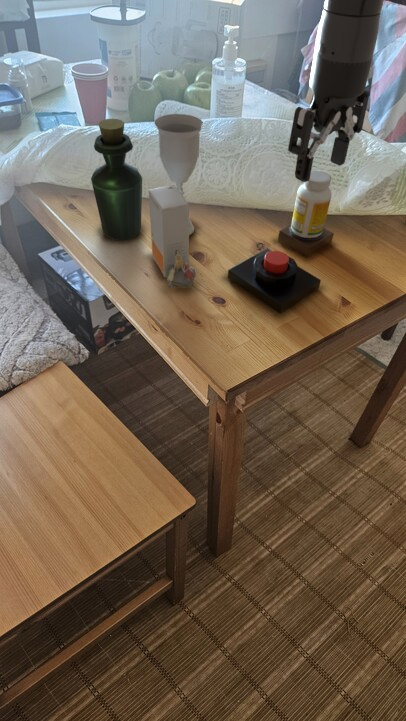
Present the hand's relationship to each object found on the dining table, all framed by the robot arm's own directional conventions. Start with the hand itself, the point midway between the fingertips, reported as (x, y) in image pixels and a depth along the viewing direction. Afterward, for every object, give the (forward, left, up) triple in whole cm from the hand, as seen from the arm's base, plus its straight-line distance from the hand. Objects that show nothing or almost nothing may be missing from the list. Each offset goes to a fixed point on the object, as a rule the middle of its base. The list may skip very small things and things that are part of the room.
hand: (319, 171), depth 77 cm
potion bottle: (+23, +22, -13) cm, 34 cm away
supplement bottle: (0, 0, -11) cm, 11 cm away
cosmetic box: (+10, +22, -13) cm, 27 cm away
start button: (-4, +13, -10) cm, 16 cm away
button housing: (-4, +13, -13) cm, 18 cm away
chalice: (+17, +14, -13) cm, 25 cm away
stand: (0, 0, -13) cm, 13 cm away
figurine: (+5, +24, -13) cm, 27 cm away
